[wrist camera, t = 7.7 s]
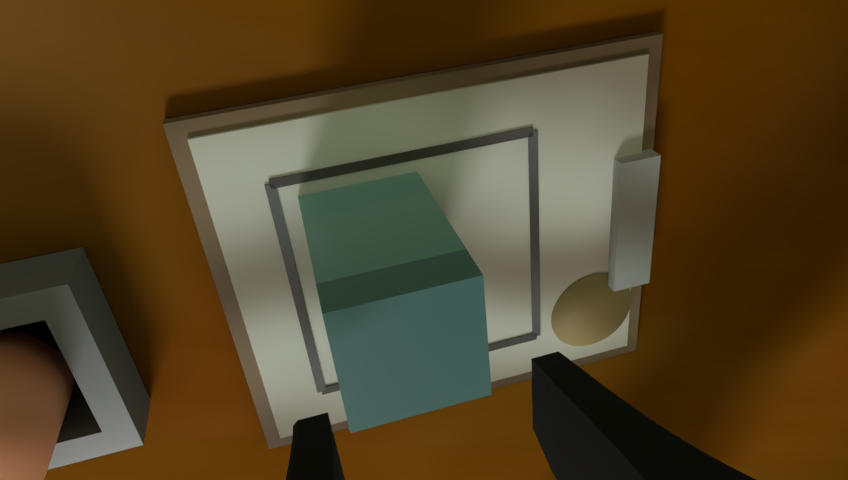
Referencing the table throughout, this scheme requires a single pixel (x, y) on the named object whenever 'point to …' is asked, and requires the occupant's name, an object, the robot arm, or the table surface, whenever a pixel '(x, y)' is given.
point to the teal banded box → (396, 300)
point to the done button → (30, 404)
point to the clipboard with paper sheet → (456, 196)
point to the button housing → (80, 352)
